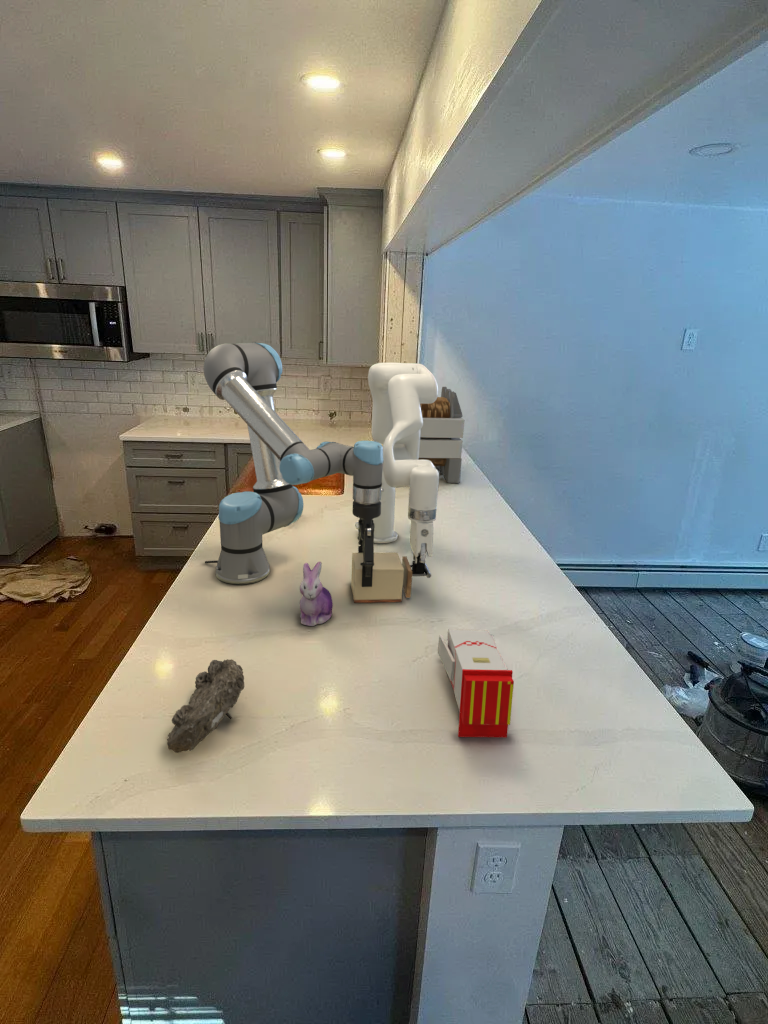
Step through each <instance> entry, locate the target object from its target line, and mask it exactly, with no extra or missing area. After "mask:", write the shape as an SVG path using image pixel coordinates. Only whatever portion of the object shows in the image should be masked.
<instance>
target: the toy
mask: <svg viewBox="0 0 768 1024" xmlns="http://www.w3.org/2000/svg"><path fill="white" fill-rule="evenodd" d="M446 640H447V643H446V641H445V639H444V636H443V635H442V634H439V637H438V646H437V656H438V657H439V659H440V661H441V663H442V666H443V668H444V670H445V672H446V674H447V677H448V679H449V681H450V684H451V687H452V690H453V693H454V697H455V701H456V705H457V708H458V711H459V714H458V715H459V716H458V730H457V731H458V732H457V737H458V738H508V731H509V726H510V725H511V717H512V707H513V697H514V696H513V695H514V684H515V680H514V679H513V673H514V671H513V670H512V669H508V667H507V665H506V662H505V661H504V659H503V658H502V655H501V653H500V651H499V649H498V647H497V643H496V639H495V637H494V635H493V634H491V632H490V631H489V629H467V628H466V629H465V628H463V629H461V628H460V629H459V628H448V630H447V639H446Z"/></svg>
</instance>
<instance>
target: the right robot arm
mask: <svg viewBox="0 0 768 1024" xmlns="http://www.w3.org/2000/svg"><path fill="white" fill-rule="evenodd" d="M367 382H368V387H369V391H370V394H371V399H372V410H371V411H372V412H371V438H372V441H375V442H379V443H380V444H381V445H382V446H383V459H384V461H383V470H382V488H383V489H384V492H381V500H380V502H381V515H380V516H379V517H377V518H374V519H372V520H373V523H374V525H375V528H374V544H389V543H393V542H395V541H397V540H398V537H399V534H398V532H397V531H396V530H395V528H394V527H395V510H396V509H395V508H396V507H395V506H396V491H397V490H396V488H398V489H399V488H409V489H408V490H409V492H408V507H407V508H408V509H407V519H408V520H409V521H410V528H409V545H410V548H411V550H412V561H411V562H412V564H411V565H412V567H411V569H412V571H413V572H412V574H425V573H424V571H425V563H426V559H427V558H426V557H427V555H428V557H430V558H431V557H433V556H434V522H435V521H436V519H437V510H438V509H437V507H438V494H439V482H440V471H439V470H438V468H436V466H434V465H433V463H432V462H431V461H429V460H424V459H421V460H418V459H419V446H420V429H421V428H422V426H423V419H422V413H421V407H420V404H431V403H434V402H435V401H436V399H437V397H439V385H438V382H437V379H436V377H435V375H434V374H433V373H432V372H431V370H429V369H428V368H427V367H426V366H425V365H424V364H422V363H417V362H413V363H412V362H377V363H373V364H372V365H371V366H370V367H369V369H368V374H367ZM394 444H404V447H393V446H394ZM354 527H355V529H356V530H359V524H358V521H355V522H354Z"/></svg>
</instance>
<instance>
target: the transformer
mask: <svg viewBox="0 0 768 1024" xmlns="http://www.w3.org/2000/svg"><path fill="white" fill-rule="evenodd" d="M440 393H441V394H440V396H438V397H437V399H436V401H435V402H434V403H431V404H420V407H421V413H422V419H423V426H422V428H421V429H420V446H419V459H418V460H421V459H424V460H429V461H431V462H432V463H433V465H434V466H435V467H436V469H437V470H438V469H439V470H438V472H439V473H440V474H441V475H443V478H444V479H445V481H446V482H447V483H449V484H455V483H456V484H459V483H461V472H462V461H463V460H462V453H463V442H464V441H463V440H462V439H463V438H464V431H465V430H464V429H465V419H464V418H463V411H462V408H461V405H460V402H459V398H458V395H457V392H455V391H453V390H452V389H451V388H447V386H442V387H441V392H440ZM393 447H404V444H394V446H393Z"/></svg>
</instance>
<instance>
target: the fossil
mask: <svg viewBox="0 0 768 1024" xmlns="http://www.w3.org/2000/svg"><path fill="white" fill-rule="evenodd" d="M243 670H244V669H243V667H242V665H240V664H237V662H236V661H235V660H234V659H232V658H231V659H227V658H226V659H224V660H223V661H222V660H217V659H212V660H211V661H210V663H209V665H208V666H207V671H201V672H199V673H198V674H197V675H196V676H195V680H194V684H195V685H194V687H195V689H194V690H193V693H192V694H191V697H190V698H189V700H188V704H184V705H182V706H181V707H180V709H177V710H176V711H175V713H174V715H173V716H172V718H171V723H172V724H173V727H172V730H171V731H170V732H168V734H167V738H166V741H167V742H166V745H167V749H168V750H169V751H173V752H174V753H176V754H178V753H182V752H188V751H189V752H192V751H193V750H195V748H196V747H197V746H199V744H200V743H201V742H203V741H204V740H205V739H206V738H207V737H208V736H209V735H210V734H211V733H212V732H214V730H215V729H217V727H218V726H219V724H220V722H221V721H222V720H223V719H224V718H225V716H226V717H227V719H229V720H233V717H232V715H230V714H229V710H230V709H231V708H234V706H235V704H236V703H237V702H238V699H239V697H240V695H241V693H242V691H243V690H245V689H244V688H245V675H244V671H243Z"/></svg>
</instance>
